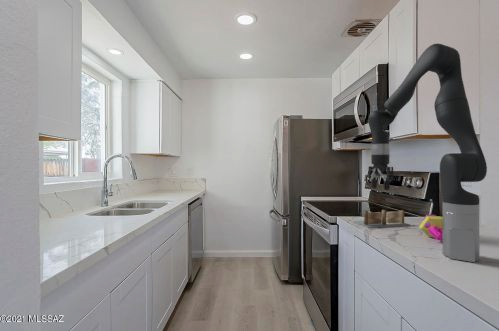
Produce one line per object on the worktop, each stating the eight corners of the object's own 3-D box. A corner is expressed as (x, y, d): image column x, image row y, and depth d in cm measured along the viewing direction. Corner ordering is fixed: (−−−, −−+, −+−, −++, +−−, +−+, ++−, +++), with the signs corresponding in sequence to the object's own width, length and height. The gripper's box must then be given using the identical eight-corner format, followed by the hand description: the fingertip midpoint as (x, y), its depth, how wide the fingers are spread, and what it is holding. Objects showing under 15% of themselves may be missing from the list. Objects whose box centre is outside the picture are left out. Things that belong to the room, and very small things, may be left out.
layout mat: (368, 227, 123) (368, 226, 123) (353, 222, 135) (353, 221, 135) (410, 225, 127) (409, 224, 127) (392, 220, 139) (392, 219, 139)
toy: (423, 244, 100) (438, 223, 96) (410, 221, 116) (423, 202, 112) (450, 256, 98) (467, 235, 94) (433, 231, 115) (447, 212, 111)
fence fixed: (383, 225, 127) (383, 210, 127) (380, 225, 129) (380, 209, 129) (405, 224, 129) (405, 209, 129) (402, 224, 131) (402, 209, 131)
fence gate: (379, 223, 129) (379, 210, 129) (382, 223, 127) (382, 210, 127) (363, 223, 127) (363, 210, 127) (365, 224, 125) (365, 211, 125)
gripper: (398, 153, 114) (398, 190, 115) (377, 154, 128) (377, 187, 129) (383, 153, 113) (383, 190, 113) (363, 154, 127) (363, 187, 127)
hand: (380, 188), depth 121 cm, fingers open, 8 cm apart
